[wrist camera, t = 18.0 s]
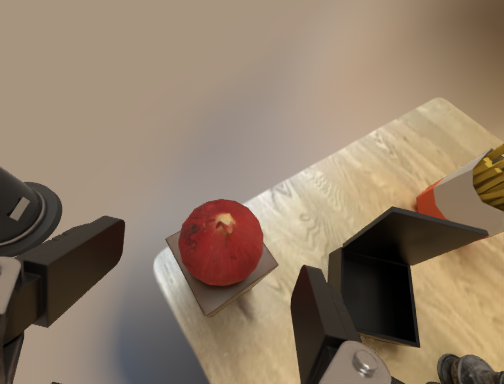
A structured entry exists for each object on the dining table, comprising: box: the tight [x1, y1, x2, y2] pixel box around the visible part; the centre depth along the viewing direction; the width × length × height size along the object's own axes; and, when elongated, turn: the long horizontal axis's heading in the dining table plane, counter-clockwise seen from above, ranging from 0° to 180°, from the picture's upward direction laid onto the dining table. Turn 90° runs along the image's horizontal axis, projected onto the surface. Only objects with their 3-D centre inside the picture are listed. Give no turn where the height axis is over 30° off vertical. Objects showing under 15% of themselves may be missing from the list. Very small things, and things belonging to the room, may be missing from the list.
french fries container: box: [417, 144, 504, 241], centre depth 38 cm, size 5×11×18 cm, turn 37°
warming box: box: [328, 247, 420, 348], centre depth 35 cm, size 11×11×4 cm
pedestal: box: [166, 231, 278, 317], centre depth 27 cm, size 7×7×18 cm
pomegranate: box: [178, 199, 263, 286], centre depth 16 cm, size 6×6×8 cm
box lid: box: [343, 206, 489, 266], centre depth 30 cm, size 12×11×1 cm
